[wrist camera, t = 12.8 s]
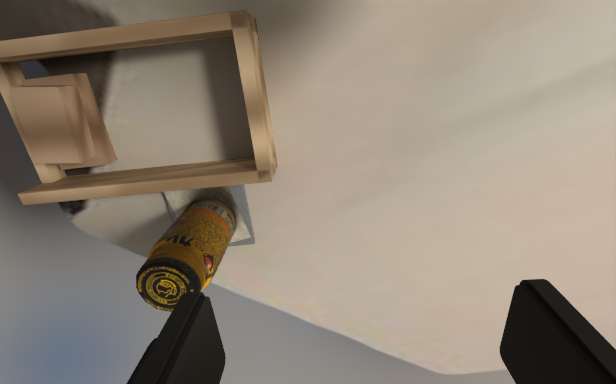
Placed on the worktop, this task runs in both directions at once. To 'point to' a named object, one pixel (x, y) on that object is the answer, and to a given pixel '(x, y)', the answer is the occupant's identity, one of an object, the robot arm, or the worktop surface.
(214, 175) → the rack
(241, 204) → the coaster
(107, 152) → the offcut lower
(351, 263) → the worktop surface
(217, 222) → the condiment
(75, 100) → the offcut upper
